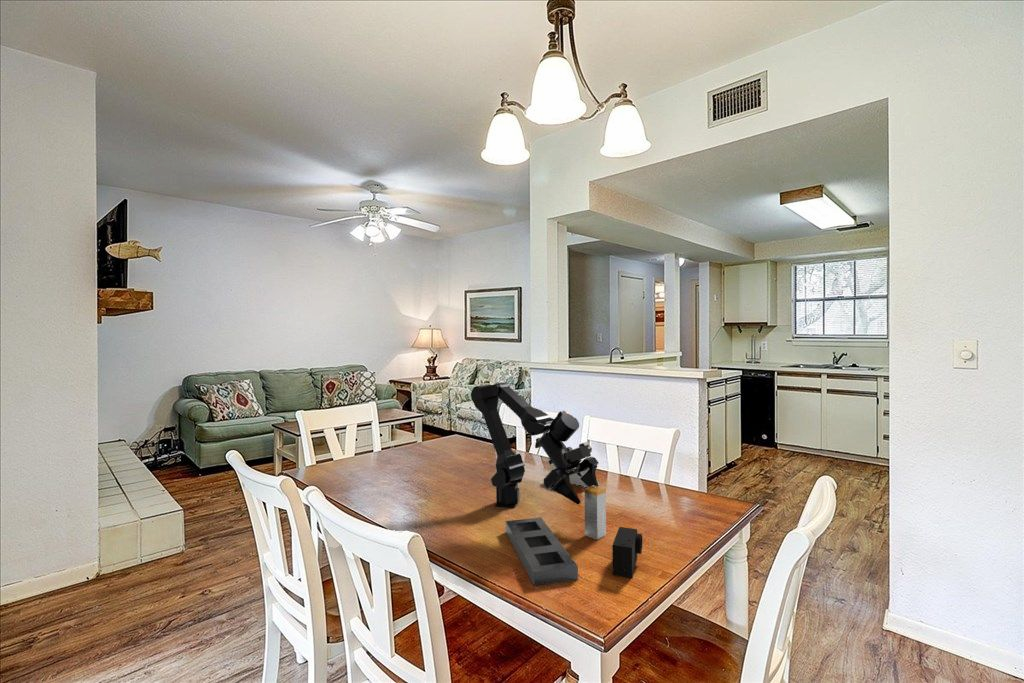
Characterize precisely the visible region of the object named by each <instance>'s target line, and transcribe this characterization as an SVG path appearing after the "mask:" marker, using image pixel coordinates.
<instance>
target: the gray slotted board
mask: <svg viewBox="0 0 1024 683" xmlns="http://www.w3.org/2000/svg"><path fill="white" fill-rule="evenodd" d="M505 533H506V535H507V537H508V539H509V541H510V543H511V545H512V547H513V549H514V550H515V552H516V554H517V557H518V558H519V560H520V562H521V563H522V566H523V568H524V570H525V572H526V571H527V572H526V574H527V575H528V577H529V579H530V581H531V583H532V585H533V584H534V585H533V586H534V587H536V586H535V585H538V586H543V585H542V584H545V585H550V584H558V583H565V582H572V581H573V582H574V581H578V580H579V565H578V564H577V563H576V561H574V559H573V558H572V556H571V555H570V553H568V551H567V550H566V549H565V547H564V545H562V543H561V542H560V540H559V539H558V538H557V536H556V535H555V534H554V533H553V531H552V530H551V529H550V527H549V526H548V525H547V523H546V521H544V519H543V518H542V517H532V518H531V517H530V518H524V519H523V518H522V519H513V520H506V521H505Z"/></svg>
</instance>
